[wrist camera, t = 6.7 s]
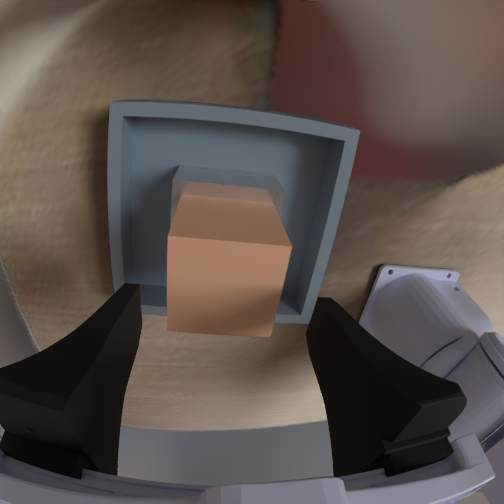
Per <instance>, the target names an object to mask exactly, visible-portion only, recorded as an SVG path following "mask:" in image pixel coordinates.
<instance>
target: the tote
mask: <svg viewBox="0 0 504 504" xmlns="http://www.w3.org/2000/svg"><path fill="white" fill-rule="evenodd" d="M359 134H360V130H357V129H354V128H352V127H349V126H346V125H343V124H339V123H335V122H330V121H325V120H320V119H315V118H310V117H305V116H299V115H294V114H288V113H282V112H275V111H269V110H262V109H255V108H247V107H239V106H230V105H220V104H210V103H198V102H184V101H165V100H119V101H113V102H110V112H109V129H108V165H107V185H108V221H109V239H110V254H111V266H112V276H113V286H114V293H115V292H116V291H117V290H118V289H119V288H120V287H121V286H122V285H123V284H124V283H131V284H140V299H141V313H142V314H150V315H161V316H167V246H168V234H169V231H170V219H171V198H172V181H173V178H174V176H175V174H176V172H177V170H178V168H179V166H180V165H190V166H202V167H213V168H224V169H233V170H243V171H252V172H260V173H269V174H275V176H276V177H277V179H278V181H279V182H280V184H281V186H282V187H283V189H284V191H285V192H284V198H283V203H282V208H281V214H280V220H281V222H282V224H283V227H284V229H285V231H286V234H287V236H288V238H289V241H290V243H291V245H292V249H291V254H290V258H289V263H288V267H287V271H286V276H285V280H284V284H283V288H282V293H281V297H280V301H279V305H278V309H277V313H276V317H275V322H274V323H294V324H309V322H310V319H311V316H312V313H313V309H314V306H315V303H316V300H317V297H318V293H319V290H320V287H321V283H322V280H323V277H324V273H325V270H326V266H327V263H328V259H329V256H330V252H331V249H332V245H333V242H334V238H335V234H336V230H337V227H338V223H339V219H340V215H341V211H342V207H343V203H344V199H345V195H346V191H347V187H348V183H349V179H350V175H351V170H352V166H353V162H354V157H355V153H356V148H357V143H358V138H359Z"/></svg>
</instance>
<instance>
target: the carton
mask: <svg viewBox="0 0 504 504" xmlns="http://www.w3.org/2000/svg"><path fill="white" fill-rule="evenodd" d="M291 249H292V245H291V243H290V241H289V238H288V236H287V234H286V231H285V229H284V227H283V224H282V222H281V220H280V217H279V215H278V213H277V210H276V208H275V206H274V204H270V203H261V202H252V201H242V200H232V199H222V198H211V197H200V196H188V195H181V197H180V200H179V203H178V206H177V209H176V212H175V215H174V218H173V221H172V224H171V227H170V231H169V234H168V246H167V331H177V332H189V333H202V334H217V335H235V336H257V337H271V334H272V330H273V326H274V322H275V317H276V313H277V309H278V305H279V301H280V297H281V293H282V288H283V284H284V280H285V276H286V271H287V267H288V263H289V258H290V254H291Z"/></svg>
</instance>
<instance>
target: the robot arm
mask: <svg viewBox="0 0 504 504" xmlns="http://www.w3.org/2000/svg"><path fill="white" fill-rule="evenodd" d="M389 270H391V271H390V272H388V271H389ZM458 277H459V272H458V271H457V270H450V269H437V268H424V267H412V266H399V265H387V264H386V265H382V266H381V267H380V269H379V271H378V274H377V276H376V279H375V282H374V284H373V287H372V290H371V292H370V295H369V297H368V300H367V302H366V305H365V307H364V310H363V312H362V315H361V317H360V320H359V322H357V321H356V320H354V319H353V318H352V317H351V316H350V315H349V314H348V313H347V312H346V311H345V310H344V309H343V308H342V307H341V306H340V305H339V304H338V303H337V302H335V301H334V300H333V299H332V298H322V297H318V298H317V301H316V304H315V307H314V310H313V314H312V317H311V320H310V323H309V326H308V329H307V332H306V338H307V344H308V350H309V355H310V358H311V362H312V365H313V368H314V371H315V374H316V377H317V380H318V383H319V387H320V390H321V393H322V396H323V400H324V404H325V408H326V414H327V419H328V425H329V432H330V439H331V447H332V457H333V473H334V477H333V476H327V477H314V478H305V479H295V480H284V481H269V482H243V483H242V482H240V483H227V484H219V485H216V486H209V485H207V486H206V485H189V484H174V483H164V482H155V481H147V480H139V479H133V478H127V477H121V476H117V467H118V465H117V464H118V448H119V435H120V425H121V416H122V409H123V402H124V396H125V391H126V387H127V384H128V380H129V377H130V373H131V370H132V366H133V363H134V359H135V356H136V352H137V349H138V346H139V340H140V335H141V328H142V313H141V299H140V284H131V283H124V284H123V285H122V286H121V287H120V288H119V289H118V290H117V291H116V292H115V293H114V294H113V295H112V296H111V297H110V298H109V299H108V300H107V301H106V302H105V303H104V304H103V305H102V306H101V307H100V308H99V309H98V310H97V311H96V312H95V313H94V314H93V315H92V316H91V317H89V318H88V319H87V320H86V321H85V322H84V323H83V324H82V325H80V326H79V327H78V328H77V329H75V330H74V331H73V332H71V333H70V334H68V335H67V336H66V337H64V338H63V339H61V340H59V341H58V342H56V343H54V344H53V345H51V346H50V347H48V348H46V349H44V350H43V351H41V352H39V353H37V354H35V355H33V356H30V357H28V358H26V359H24V360H21V361H19V362H16V363H14V364H11V365H8V366H5V367H2V368H0V424H1V426H2V427H3V428H4V429H5V432H4V434H3V437H1V436H0V504H457V503H459V502H460V501H462V500H463V499H465V498H466V497H468V496H469V495H471V494H472V493H474V492H482V493H483V494H484V496H485V497H486V499H487V500H488V501H489V503H490V504H504V425H502V424H503V423H504V338H503V337H502V336H500V335H499V334H498V333H496V332H494V331H493V327H492V324H491V321H490V319H489V317H488V316H487V315H486V314H485V312H484V311H483V310H482V309H481V308H480V307H479V306H478V304H477V303H476V302H475V301H474V300H473V299H472V298H471V297H470V296H469V295H468V293H467V292H466V291H465V290H464V289H463V288H462V287H461V286H460V285H459V284H458V283H457V280H458ZM377 339H378V340H377ZM501 425H502V426H501ZM500 426H501V427H500ZM499 427H500V428H499ZM497 428H499V429H498V430H497V431H496V432H494V431H495V430H496V429H497ZM493 432H494V433H493ZM492 433H493V434H492ZM490 434H492V435H491V436H490V437H488V436H489V435H490ZM487 437H488V438H487ZM485 438H487V439H486V440H485V441H484V442H482V441H483V440H484V439H485ZM481 442H482V443H481ZM480 443H481V444H480Z"/></svg>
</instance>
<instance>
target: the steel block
mask: <svg viewBox="0 0 504 504" xmlns="http://www.w3.org/2000/svg"><path fill="white" fill-rule="evenodd" d="M284 192H285V191H284V189H283V187H282V186H281V184H280V182H279V181H278V179H277V177H276V176H275V174H269V173H260V172H252V171H243V170H233V169H224V168H213V167H202V166H190V165H180V166H179V168H178V170H177V172H176V174H175V176H174V178H173V181H172V198H171V219H170V227H171V224H172V221H173V218H174V215H175V212H176V209H177V206H178V203H179V200H180V197H181V195H188V196H200V197H211V198H222V199H232V200H242V201H252V202H261V203H270V204H274V206H275V208H276V210H277V213H278V215H279V217H280V214H281V208H282V203H283V198H284Z"/></svg>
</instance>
